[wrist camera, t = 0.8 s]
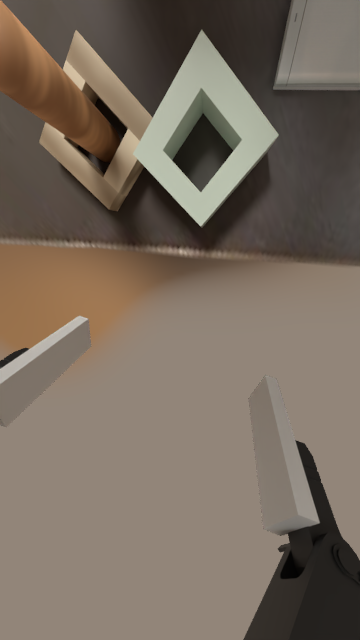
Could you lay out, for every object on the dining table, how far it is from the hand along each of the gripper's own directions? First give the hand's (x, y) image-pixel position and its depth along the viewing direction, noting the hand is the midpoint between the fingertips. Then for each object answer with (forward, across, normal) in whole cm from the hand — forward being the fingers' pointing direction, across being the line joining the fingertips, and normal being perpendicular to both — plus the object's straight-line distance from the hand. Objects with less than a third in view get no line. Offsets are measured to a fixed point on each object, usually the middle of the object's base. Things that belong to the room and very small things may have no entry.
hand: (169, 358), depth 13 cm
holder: (+20, -17, +14) cm, 30 cm away
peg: (+20, -17, +14) cm, 30 cm away
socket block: (+20, -4, +15) cm, 25 cm away
